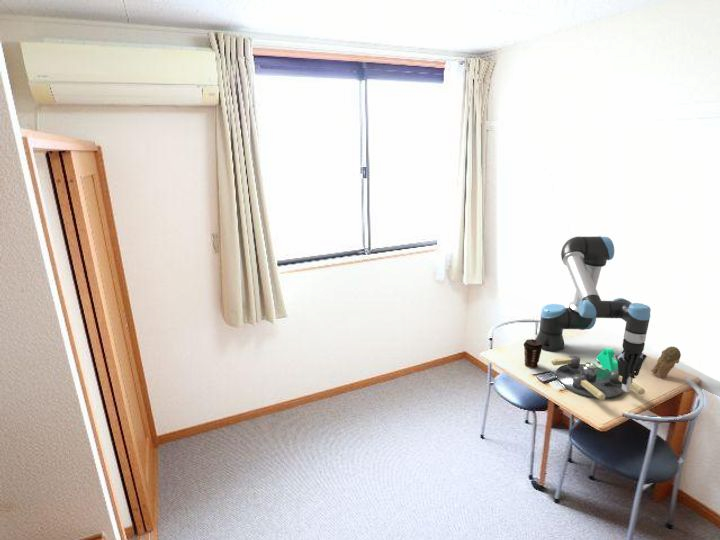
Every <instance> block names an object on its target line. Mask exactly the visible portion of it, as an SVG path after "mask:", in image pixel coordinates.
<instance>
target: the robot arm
mask: <svg viewBox="0 0 720 540" xmlns="http://www.w3.org/2000/svg"><path fill="white" fill-rule="evenodd" d="M560 256H561V257H560V258H561V261H562V262H563V264H564V265H565V266H566V267H567V270H568V271H569V275H570V276H571V279H572V282H573V284H574V287H575V289H576V290H575V293H574V298H573V301H572V302H570V303H569V306H568V307H566V306H564V305H563V304H561V303H560V304H557V303H550V304H549V303H548V304H546V305H544V306H543V307H542V308H541V312H540V313H541V314H540V322H539V331H538V333H537V334H536V335H537V336H536V338H535V339H534V340H538V341H539V342H541V345H542V349H541V350H544V351H546V352H561V351H563V350H564V349H565V346H566V345H565V340H564V335H563V331H564V330H579V331H580V330H581V331H583V330H584V331H585V330H591V329H592V328H593V327H595V325H596V322H597V319H620V320H621V319H622V320H623V321H625V329H624V333H623V334H624V335H623V340H622V345H621V346H622V349H623V350H622V351H621V354H620V355H618V354H616V356H615V358H616V359H615V360H616V361H617V362H618V374H619V375H620V376H622V388H621V389H623V392H625V393H630V391H631V388H630V385H631V383H632V381H633V379H636V377H637V376H638V375H639V374H640V371H641V369H642V367H643V363H644V361H645V360H646V358H647V357H648V356H647V354H645V353H643V351H644V349H645V346H646V345H645V344H646V343H645V342H646V340H647V339H646V338H647V334H648V328H649V325H650V319H651V311H652V310H651V309H652V308H651V307H650V306H649V305H647V304H644V303H640V302H633V303H632V302H631V301H629V300H627V299H625V298H624V297H623V298H622V297H617V298H615V299H613V300H602V299H601V297H600V295H599V293H598V290H597V286H598V281H599V278H600V274H601V270H602V268H603V267H606V264H607V261H610V260H612V259H613V258H614V257H615V246H614V243H613V240H612V239H611V238H610V237H608V236H601V235H599V236H582V235H581V236H574V237H571V238H569V239H568V240H566V241H565V243H564V244H563V245H562V248H561V253H560Z"/></svg>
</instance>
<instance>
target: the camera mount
mask: <svg viewBox="0 0 720 540" xmlns="http://www.w3.org/2000/svg"><path fill="white" fill-rule="evenodd" d="M614 357H615V350H614V349H613V348H603V349H602V350H601V352H600V353H598V355H597V356H596V358H597V359H598V360H599V361H600V363H601V365H602V366H601V367H602V369H604V370H606V371H609V372H611V371H612V370H618V361H617V359H615V358H614ZM600 363H599V364H600Z"/></svg>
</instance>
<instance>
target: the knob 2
mask: <svg viewBox="0 0 720 540" xmlns="http://www.w3.org/2000/svg"><path fill="white" fill-rule="evenodd" d="M610 382H611V383H613V384H618V385H620V384H622V376H620V375H619V374H618V370H612V371H611V374H610ZM630 390H631V391H634V392H635V393H636V394H638V395H641V396H642V395H645V393H646V390H645V388H644V387H642V386H640V385H639V384H638V383H636V382H634V381H633V380H632V383H631V385H630Z"/></svg>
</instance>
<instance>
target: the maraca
mask: <svg viewBox="0 0 720 540" xmlns="http://www.w3.org/2000/svg"><path fill="white" fill-rule="evenodd" d="M551 364H552V365H553V366H563V365H566V364H568V366H569V367H570V368H573V369H578V368H579V365H580V364H581V357H580V356H578V355H571V354H570V355H569V356H568V357H561V358H553V359H551Z"/></svg>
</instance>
